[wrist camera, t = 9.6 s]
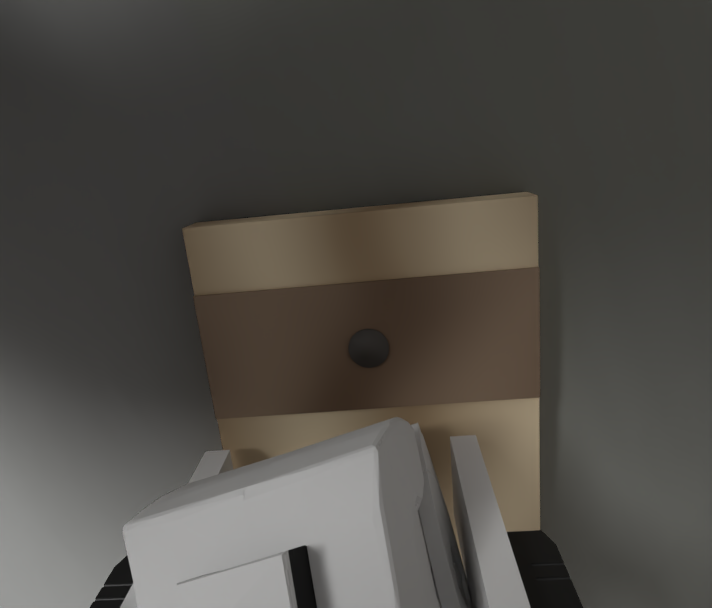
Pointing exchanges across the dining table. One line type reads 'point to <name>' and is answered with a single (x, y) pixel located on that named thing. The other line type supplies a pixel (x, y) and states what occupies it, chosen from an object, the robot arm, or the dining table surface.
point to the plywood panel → (379, 332)
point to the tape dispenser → (306, 531)
